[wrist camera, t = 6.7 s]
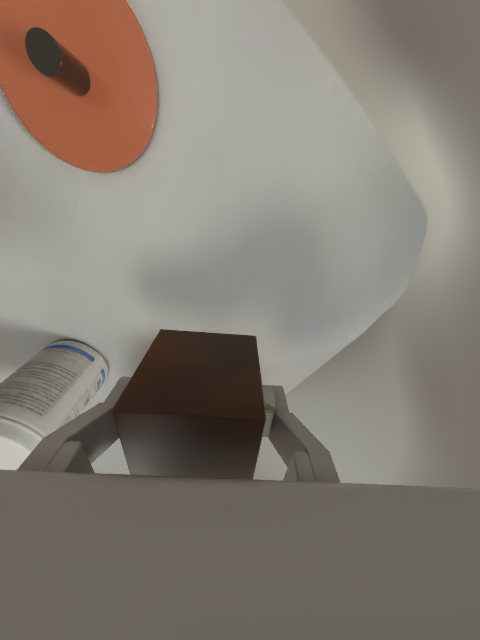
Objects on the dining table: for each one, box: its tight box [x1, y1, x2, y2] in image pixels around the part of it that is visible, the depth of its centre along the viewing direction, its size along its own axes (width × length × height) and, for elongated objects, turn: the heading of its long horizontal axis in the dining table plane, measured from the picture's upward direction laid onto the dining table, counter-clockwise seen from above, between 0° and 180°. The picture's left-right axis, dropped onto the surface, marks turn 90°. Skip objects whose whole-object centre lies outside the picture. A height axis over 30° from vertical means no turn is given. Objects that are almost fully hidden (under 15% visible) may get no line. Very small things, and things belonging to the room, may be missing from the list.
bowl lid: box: [0, 0, 158, 172], centre depth 17 cm, size 13×13×5 cm
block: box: [112, 329, 266, 480], centre depth 10 cm, size 5×5×5 cm
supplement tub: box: [0, 341, 108, 470], centre depth 28 cm, size 10×10×15 cm
